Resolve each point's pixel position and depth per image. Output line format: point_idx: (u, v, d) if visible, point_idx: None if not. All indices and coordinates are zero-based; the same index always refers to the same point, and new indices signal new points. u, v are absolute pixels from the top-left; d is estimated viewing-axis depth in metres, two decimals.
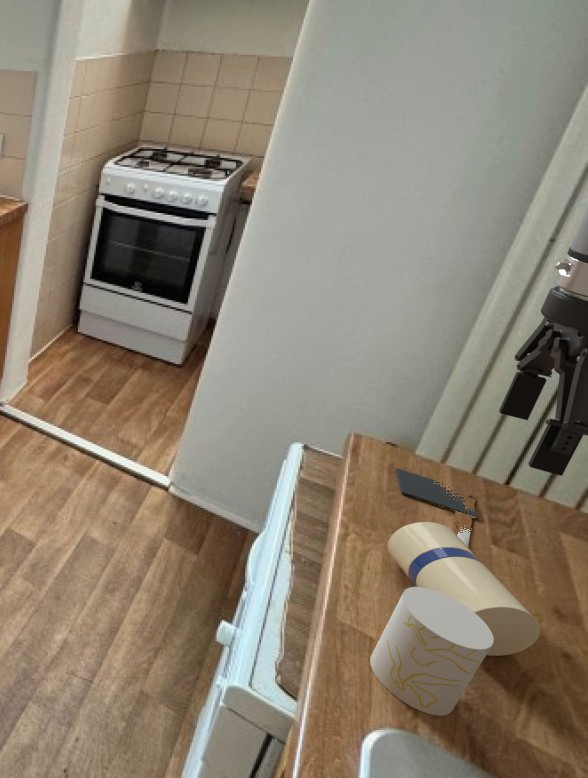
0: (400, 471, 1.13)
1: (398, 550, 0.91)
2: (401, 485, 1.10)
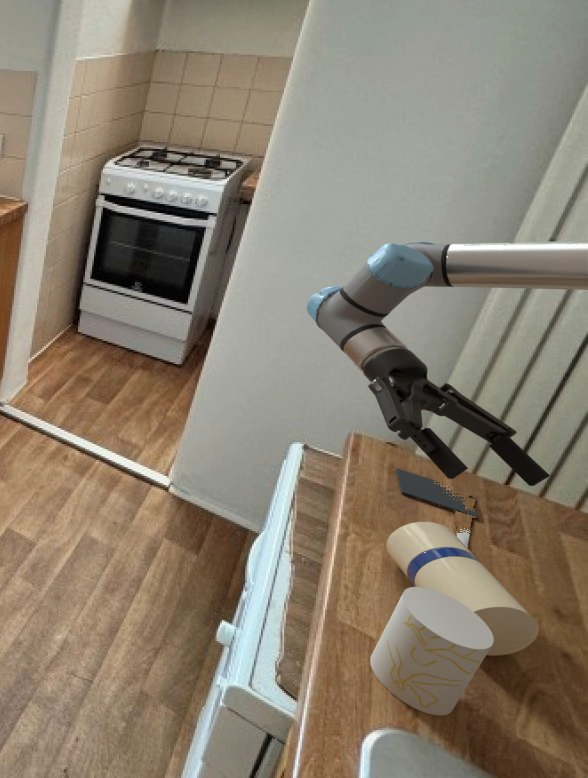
0: (400, 471, 1.13)
1: (396, 550, 0.91)
2: (401, 485, 1.10)
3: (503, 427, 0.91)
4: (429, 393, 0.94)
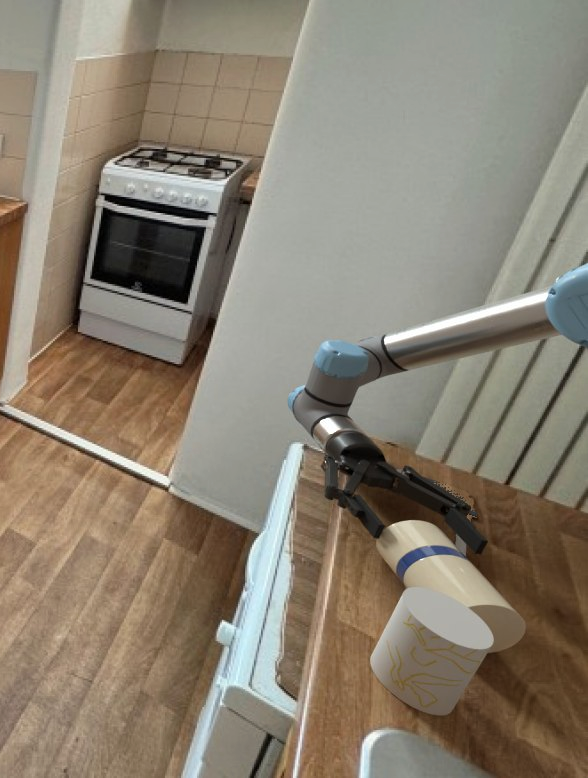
0: None
1: (384, 556, 0.92)
2: None
3: (457, 503, 0.97)
4: (380, 471, 1.03)
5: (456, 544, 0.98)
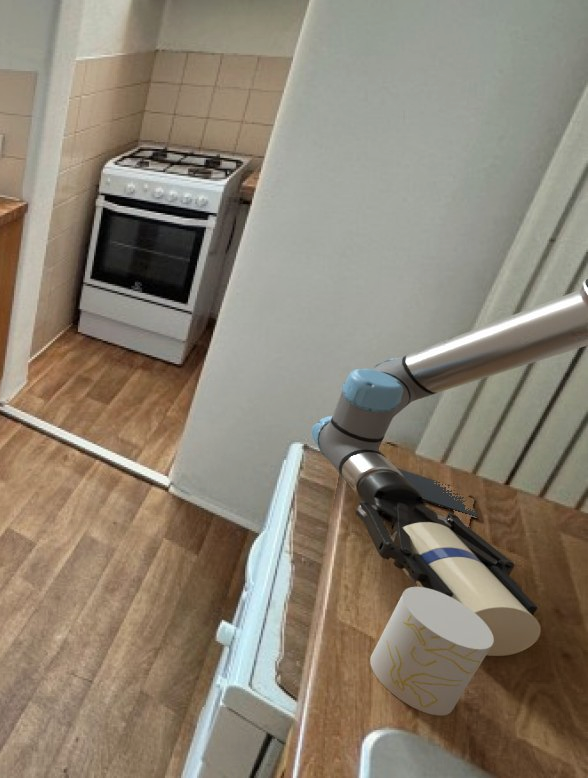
0: (400, 471, 1.13)
1: None
2: None
3: (498, 558, 0.87)
4: (419, 516, 0.94)
5: None
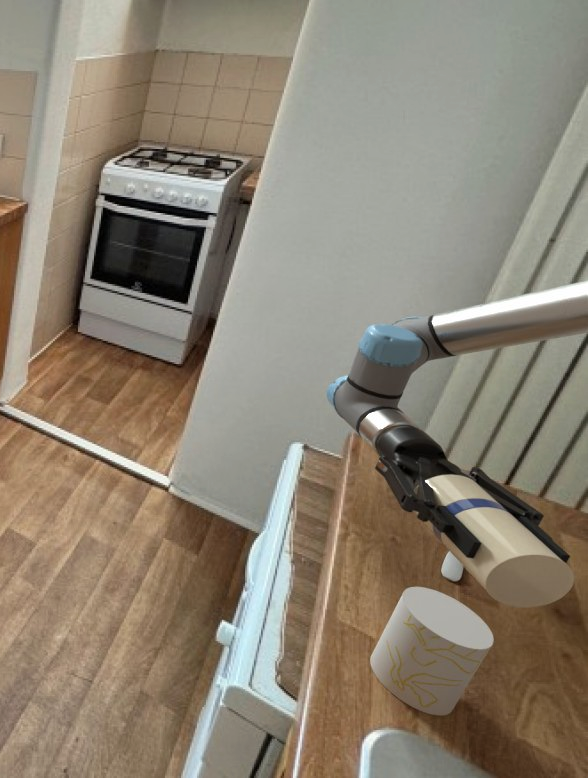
0: None
1: None
2: None
3: (526, 509, 0.84)
4: (442, 470, 0.91)
5: None
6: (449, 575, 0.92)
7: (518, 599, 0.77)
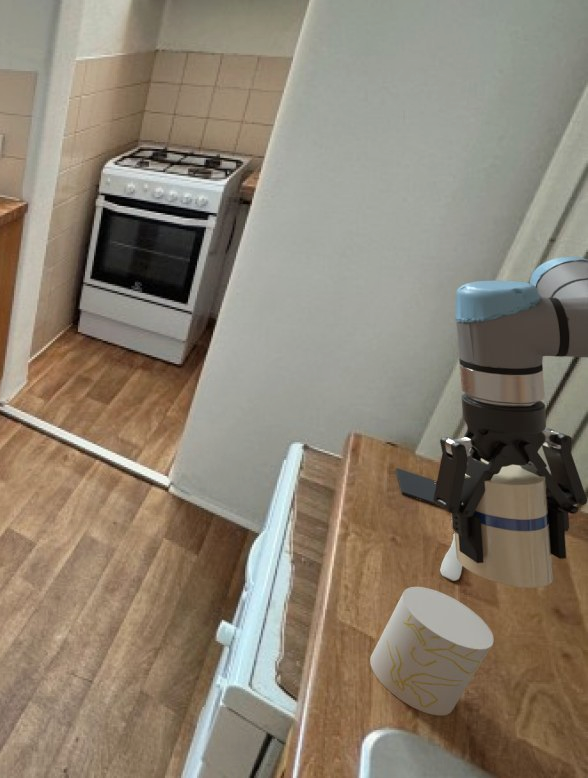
0: (400, 471, 1.13)
1: None
2: (401, 485, 1.10)
3: (574, 495, 0.79)
4: (519, 452, 0.79)
5: (453, 543, 0.98)
6: (448, 574, 0.92)
7: None
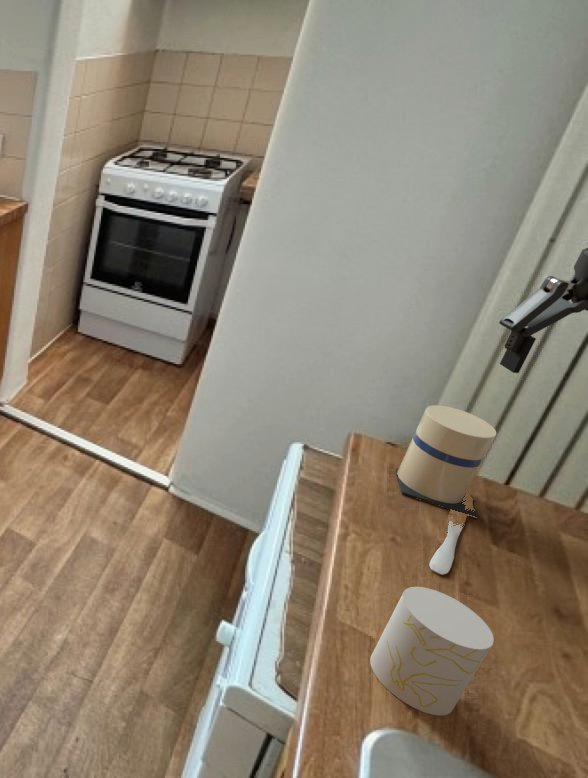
0: None
1: (426, 427, 1.06)
2: (401, 485, 1.10)
3: None
4: None
5: (446, 539, 0.99)
6: (437, 568, 0.93)
7: None
